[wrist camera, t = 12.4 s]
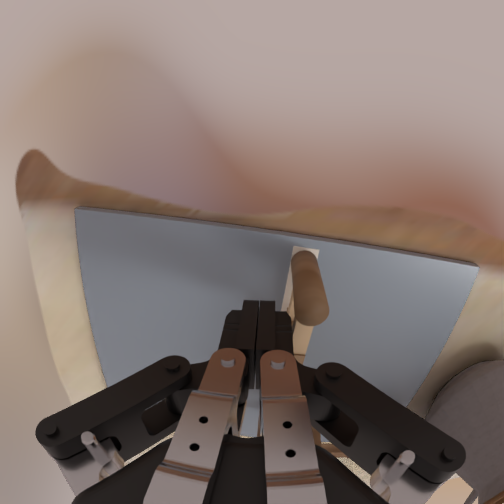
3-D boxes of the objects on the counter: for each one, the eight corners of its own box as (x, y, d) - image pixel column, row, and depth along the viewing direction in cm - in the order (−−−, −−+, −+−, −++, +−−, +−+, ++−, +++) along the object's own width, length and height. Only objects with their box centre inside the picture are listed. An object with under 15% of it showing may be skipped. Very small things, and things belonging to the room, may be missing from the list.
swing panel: (280, 400, 20) (279, 451, 16) (261, 398, 20) (257, 449, 16) (319, 252, 16) (333, 299, 11) (293, 248, 16) (298, 295, 11)
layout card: (475, 263, 16) (480, 268, 15) (380, 435, 24) (381, 440, 23) (79, 206, 17) (73, 209, 16) (115, 401, 24) (113, 406, 24)
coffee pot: (453, 344, 19) (529, 503, 5) (528, 342, 18) (596, 449, 5) (358, 472, 27) (367, 575, 13) (432, 462, 27) (452, 550, 13)
